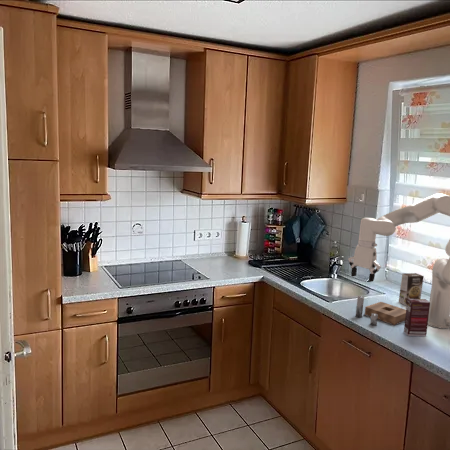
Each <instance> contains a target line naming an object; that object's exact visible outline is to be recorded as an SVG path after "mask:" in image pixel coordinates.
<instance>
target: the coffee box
mask: <svg viewBox="0 0 450 450" xmlns="http://www.w3.org/2000/svg"><path fill="white" fill-rule="evenodd" d="M424 278H425V277H424V275H421V274H419V273H416V272H414V273H413V272H411V273H410V272H409V273H407V272H406V273H402V274H401V279H400V280H401V282H400V289H399V295H398V296H399V297H398V303H401V304H402V305H404V306H405V307H407V299H422V298H421V297H422V291H423V283H424Z"/></svg>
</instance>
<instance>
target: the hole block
mask: <svg viewBox="0 0 450 450" xmlns="http://www.w3.org/2000/svg"><path fill="white" fill-rule="evenodd" d="M372 313H375V314H378V320H379V321H382V322H384V323H387V324H390V325H393V326H396V325H399V324H401V323H403V322H405V316H406V309H405V308H402V307H399V306H395V305H393V304H390V303H386V302H383V301H379V302H375V303H372V304H370V305H367V306H365V308H364V316H365V315H366V316H369V317H370V318H371V314H372Z"/></svg>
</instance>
